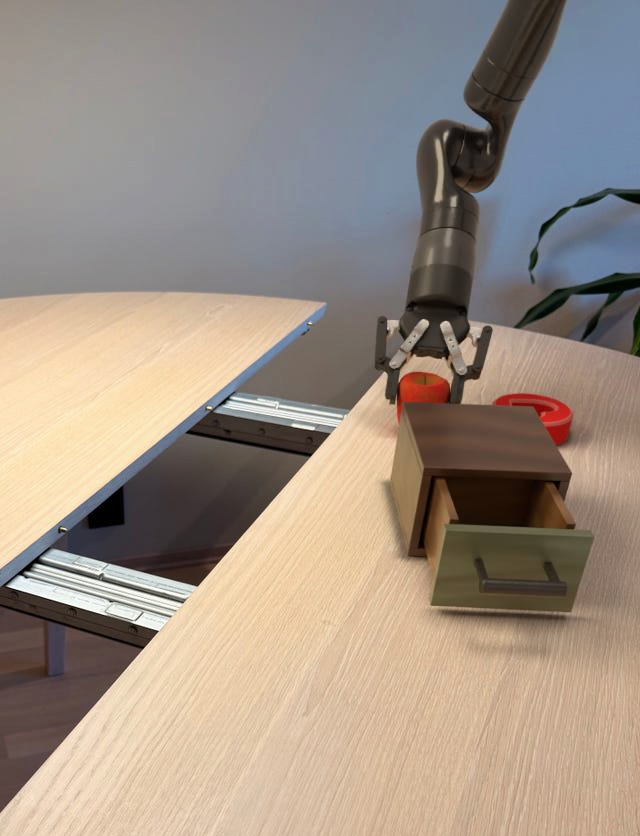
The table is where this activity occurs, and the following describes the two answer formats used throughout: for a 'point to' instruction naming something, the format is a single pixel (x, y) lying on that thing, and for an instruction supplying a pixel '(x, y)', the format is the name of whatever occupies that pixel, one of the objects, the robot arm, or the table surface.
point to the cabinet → (467, 454)
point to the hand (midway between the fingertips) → (422, 404)
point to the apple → (422, 389)
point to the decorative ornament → (543, 412)
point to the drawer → (502, 544)
